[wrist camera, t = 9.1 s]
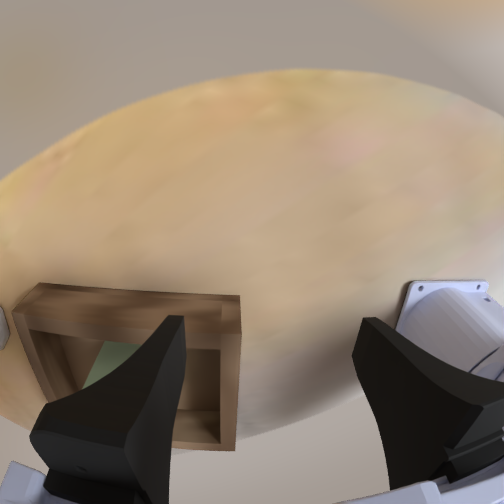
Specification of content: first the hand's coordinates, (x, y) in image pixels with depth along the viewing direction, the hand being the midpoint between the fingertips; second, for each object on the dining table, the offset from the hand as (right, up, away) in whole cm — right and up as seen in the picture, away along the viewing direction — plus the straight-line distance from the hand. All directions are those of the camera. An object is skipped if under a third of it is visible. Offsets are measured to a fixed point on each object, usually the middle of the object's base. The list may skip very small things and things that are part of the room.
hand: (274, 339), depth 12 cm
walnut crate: (-10, -5, +12) cm, 16 cm away
